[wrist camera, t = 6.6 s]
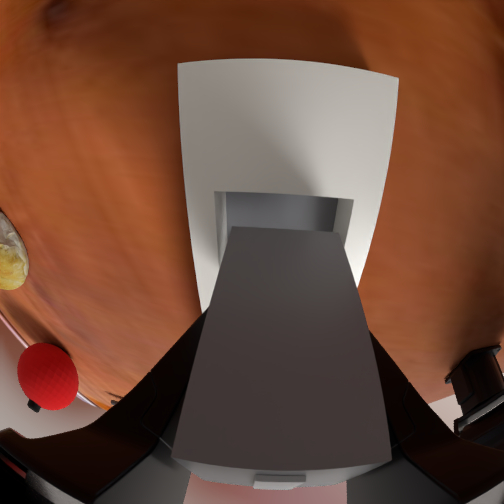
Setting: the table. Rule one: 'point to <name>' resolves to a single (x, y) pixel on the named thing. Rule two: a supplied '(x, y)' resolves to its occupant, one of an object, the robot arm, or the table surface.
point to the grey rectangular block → (283, 369)
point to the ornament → (47, 377)
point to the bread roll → (11, 256)
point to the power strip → (282, 152)
